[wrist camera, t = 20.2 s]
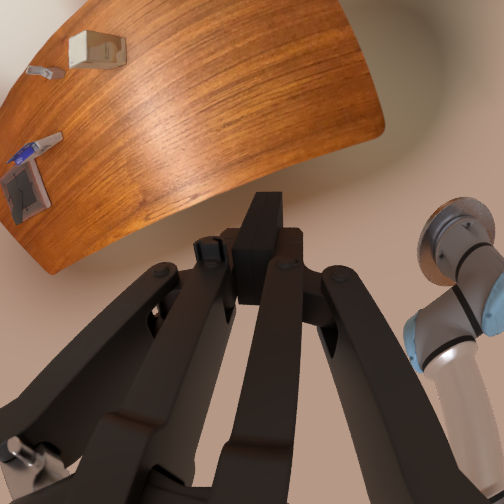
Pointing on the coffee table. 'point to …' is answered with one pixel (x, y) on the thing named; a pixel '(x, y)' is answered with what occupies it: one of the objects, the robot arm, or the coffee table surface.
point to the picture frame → (24, 191)
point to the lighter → (46, 71)
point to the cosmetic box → (96, 50)
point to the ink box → (35, 148)
